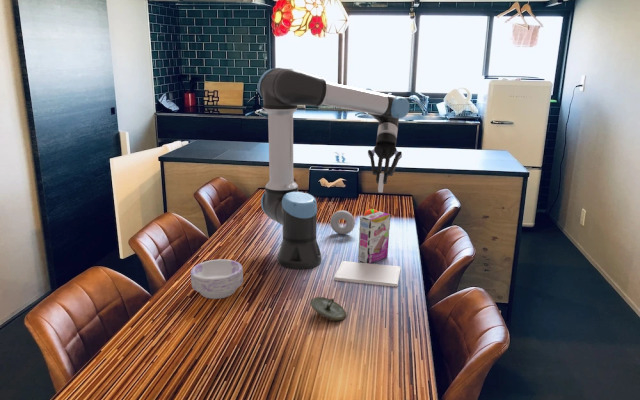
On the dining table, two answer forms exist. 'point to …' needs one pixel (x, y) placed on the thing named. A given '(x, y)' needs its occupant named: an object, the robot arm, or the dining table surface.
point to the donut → (339, 228)
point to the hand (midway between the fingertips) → (380, 190)
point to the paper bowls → (217, 278)
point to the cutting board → (368, 273)
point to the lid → (328, 308)
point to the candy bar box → (374, 237)
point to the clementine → (370, 211)
